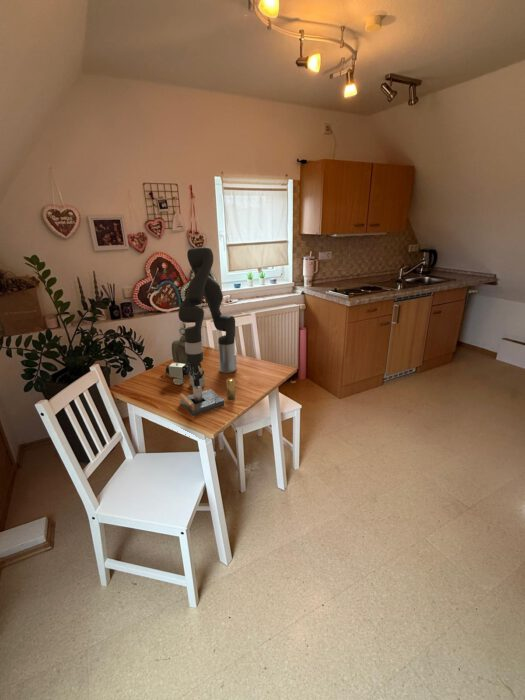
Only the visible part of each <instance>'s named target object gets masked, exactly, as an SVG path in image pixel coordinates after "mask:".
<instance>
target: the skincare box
mask: <svg viewBox="0 0 525 700" xmlns="http://www.w3.org/2000/svg"><path fill="white" fill-rule="evenodd" d="M205 379H206V378H205V373H204V374H203V376H202V378H201V379H199V382H200V385H201V386H202V387H205V386H206V381H205ZM189 383H190V386H192V387H193V386H194V378H193V377H192V376H191V374H190V372H189Z"/></svg>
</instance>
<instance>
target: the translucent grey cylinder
mask: <svg viewBox="0 0 525 700" xmlns="http://www.w3.org/2000/svg"><path fill="white" fill-rule="evenodd" d="M202 388H203V386H201V385H200V386H197V387H195V386H192V392H193V393H192V394H193V397H194V404H198V403H201V402H203V400H202V391H203V389H202Z"/></svg>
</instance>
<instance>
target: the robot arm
mask: <svg viewBox="0 0 525 700" xmlns="http://www.w3.org/2000/svg"><path fill="white" fill-rule="evenodd" d="M186 257H187V260H188V263H189V266H190V268H191V269H192V272H193V274H194V275H195V276H194V277H193V278H192V279H191V280H190V282H189V284H188V286H187V290H186V296H185V297H184V300H183V302H182V304H181V305H180V307H179V310H178V318H179V320H180V321H181V322H182V323H192V324H193V323H195V325H193V326H187V327H186V328H184V329H185V330H184V333H185V351H186V361H187V362H189V364H187V365H188V368H189V371H190V373H189V375H190V374H191V376H192V377H193V378H194V386H195V387H197V386H200V382H199V379H201V378H202V376H203V374H204V375H205V371H204V370H202V364H201V363H202V362H203V361H204V348H203V347H204V346H203V341H202V339H203V337H202V326H203V321H204V317H205V310H204V308H203V307H202V306H201V304H202V303H203V298H204V300H205V301H206V304H207V307H208V309H209V313H210V315H211V319H212V322H213V326H214V328H215V329H216V330H217V331H220V332H225V334H224V335H222V336H219V337H218V340H217V341H218V361H219V372H221V373H223V374H229V373H233V372H235V371H236V370H237V369H238V368H237V367H238V366H237V354H236V348H235V346H236V343H235V338H236V319H235V317H234V315H228V314H222V312H221V308H220V307H221V305H222V302H223V300H224V295H223V292H222V288H221V286H220V284H219V283H218V282H217V281H216V280H215V279H214V278H212V277H211V276H210V273H211V270H212V267H213V264H214V253H213V249H212V248H210V247H209V246H198V247H191V248H189V249H188V251H187V253H186Z"/></svg>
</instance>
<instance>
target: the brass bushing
mask: <svg viewBox="0 0 525 700" xmlns="http://www.w3.org/2000/svg"><path fill="white" fill-rule="evenodd" d="M225 381H226V400H227V401H229V402H230V401H235V400H236V381H235V379H234V378H231V377H230V378H227V379H226V380H225Z"/></svg>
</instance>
